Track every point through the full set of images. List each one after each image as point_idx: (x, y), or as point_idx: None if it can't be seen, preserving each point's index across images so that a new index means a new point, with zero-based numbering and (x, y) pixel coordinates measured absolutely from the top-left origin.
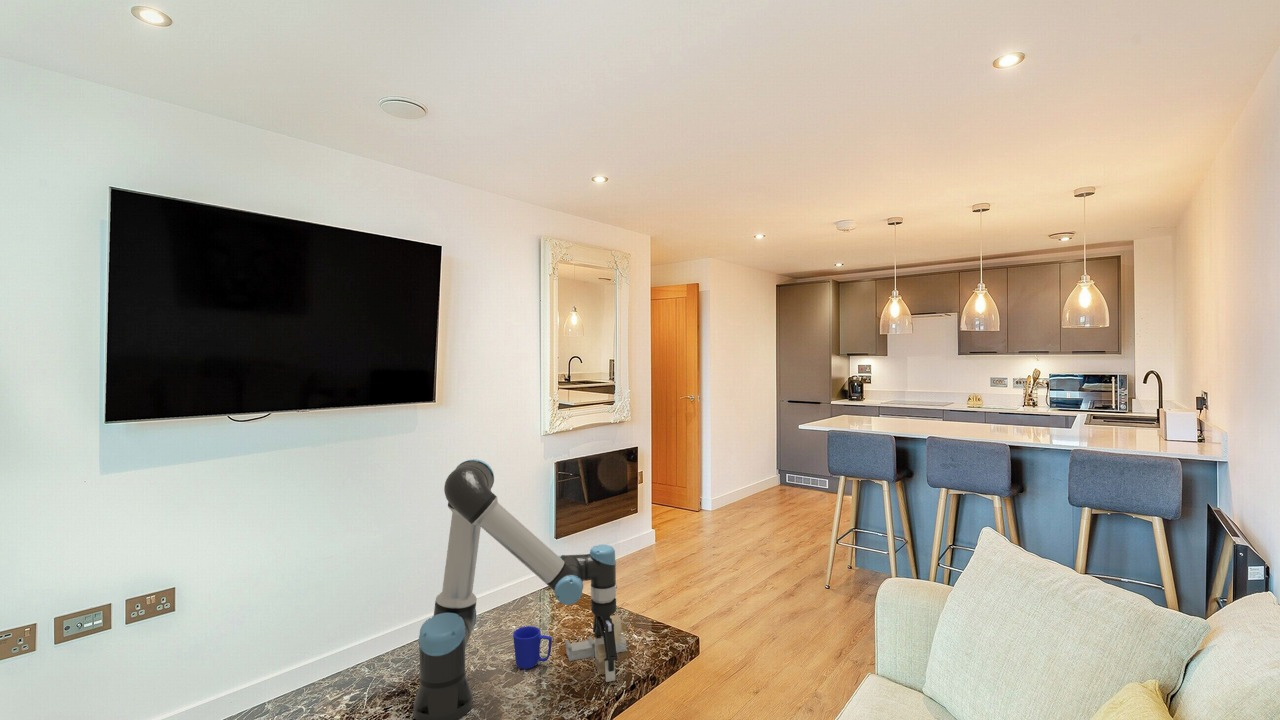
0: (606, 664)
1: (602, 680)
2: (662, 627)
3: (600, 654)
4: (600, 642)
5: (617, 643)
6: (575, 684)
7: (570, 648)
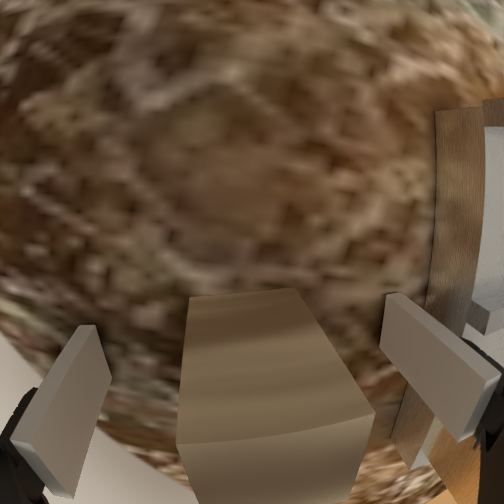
0: (29, 411)
1: (111, 304)
2: (440, 492)
3: (179, 423)
4: (449, 398)
5: (424, 440)
6: (100, 94)
7: (501, 116)
